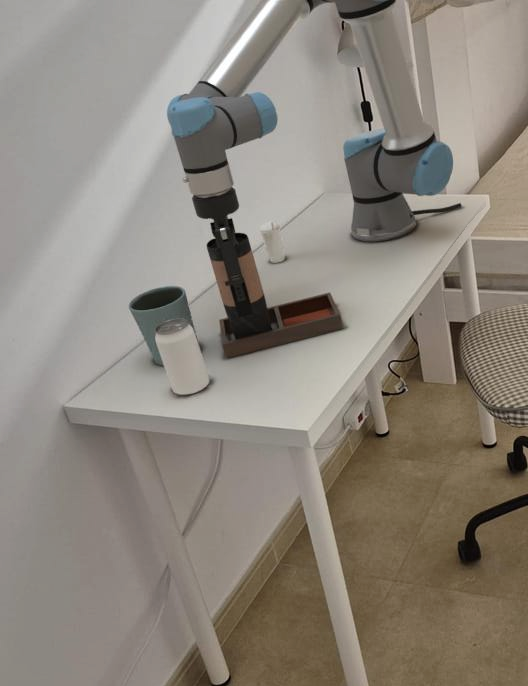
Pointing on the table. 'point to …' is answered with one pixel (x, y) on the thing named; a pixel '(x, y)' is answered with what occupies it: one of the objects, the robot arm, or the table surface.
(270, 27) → the robot arm
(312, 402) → the table surface
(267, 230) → the milkshake
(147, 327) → the green tapered cup
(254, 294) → the travel mug
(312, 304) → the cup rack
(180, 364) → the can
